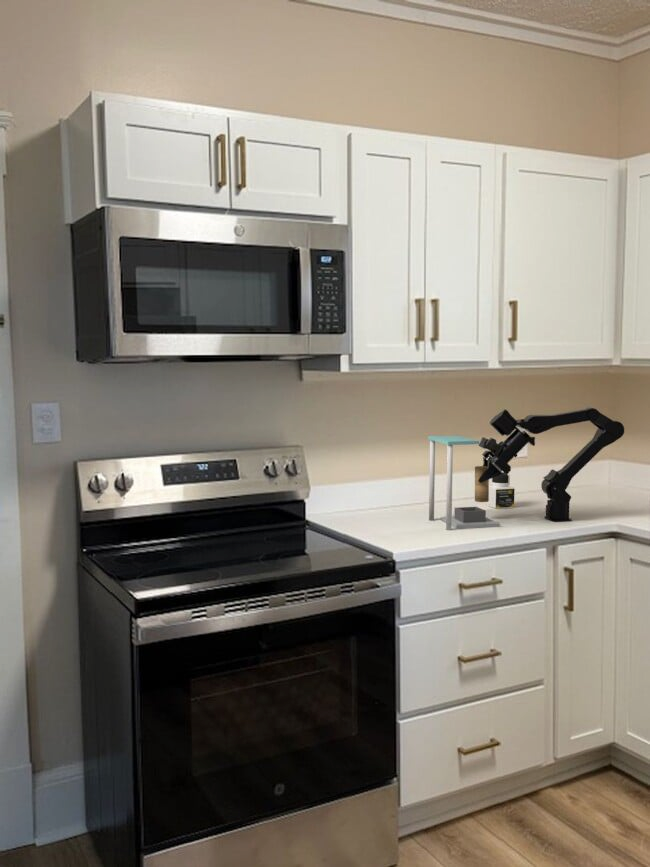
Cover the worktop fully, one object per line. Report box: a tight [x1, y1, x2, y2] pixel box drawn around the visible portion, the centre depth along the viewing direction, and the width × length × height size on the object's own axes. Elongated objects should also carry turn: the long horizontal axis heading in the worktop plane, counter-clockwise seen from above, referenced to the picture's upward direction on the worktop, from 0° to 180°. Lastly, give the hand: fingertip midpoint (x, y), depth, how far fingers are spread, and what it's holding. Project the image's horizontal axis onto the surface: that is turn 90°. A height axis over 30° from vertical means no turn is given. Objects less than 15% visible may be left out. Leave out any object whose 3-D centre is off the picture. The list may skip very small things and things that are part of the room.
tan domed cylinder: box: [474, 465, 490, 503], centre depth 279 cm, size 4×4×11 cm
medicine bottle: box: [486, 471, 516, 510], centre depth 303 cm, size 7×7×12 cm
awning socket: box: [427, 435, 501, 531], centre depth 272 cm, size 18×17×27 cm
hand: (477, 480), depth 279 cm, fingers closed on tan domed cylinder, 4 cm apart
